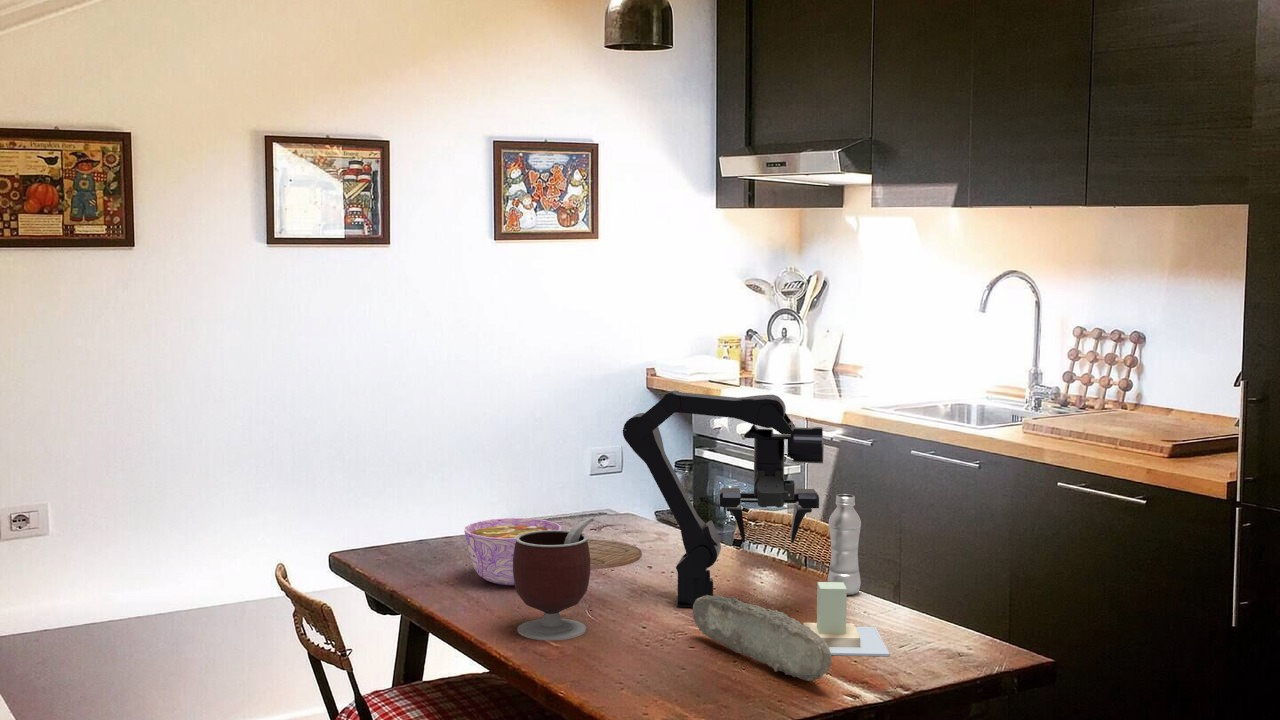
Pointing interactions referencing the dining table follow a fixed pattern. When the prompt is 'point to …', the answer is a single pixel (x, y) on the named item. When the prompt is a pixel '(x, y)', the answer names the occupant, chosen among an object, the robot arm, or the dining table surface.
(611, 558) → the trivet
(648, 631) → the dining table surface
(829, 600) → the block
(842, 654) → the board
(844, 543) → the plastic bottle
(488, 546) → the bowl of food
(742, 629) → the long grey stone
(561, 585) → the mate gourd
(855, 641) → the foundation slab
